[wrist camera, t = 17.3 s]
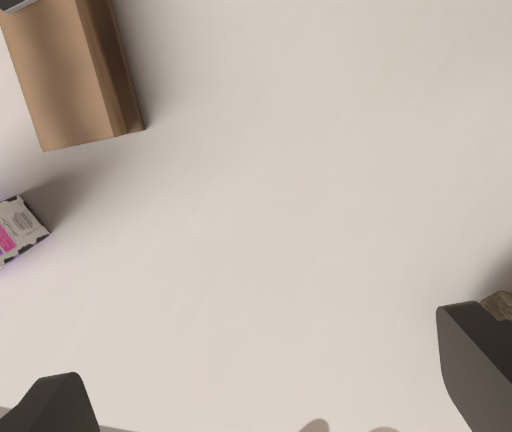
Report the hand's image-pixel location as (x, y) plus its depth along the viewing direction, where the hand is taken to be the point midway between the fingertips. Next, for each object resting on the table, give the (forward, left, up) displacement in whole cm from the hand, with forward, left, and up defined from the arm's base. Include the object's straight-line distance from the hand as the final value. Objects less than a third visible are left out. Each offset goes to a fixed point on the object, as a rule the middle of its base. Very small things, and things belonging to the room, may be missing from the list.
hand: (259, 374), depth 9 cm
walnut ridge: (+16, -16, -38) cm, 44 cm away
